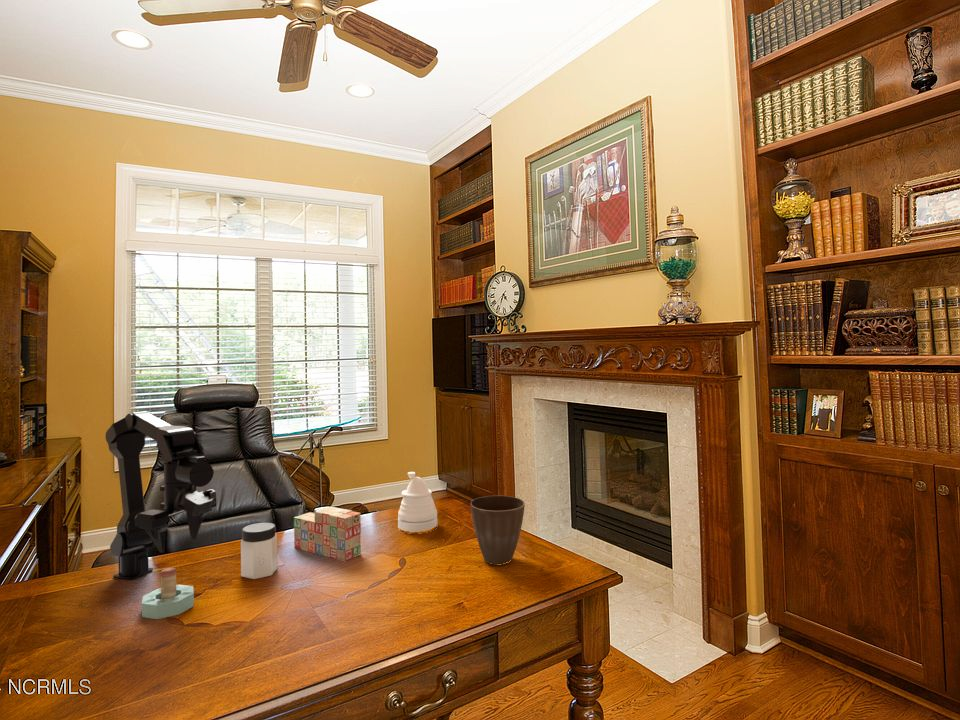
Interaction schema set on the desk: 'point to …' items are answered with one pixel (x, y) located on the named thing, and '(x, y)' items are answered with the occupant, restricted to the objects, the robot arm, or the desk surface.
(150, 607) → the bead
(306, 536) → the stack of blocks
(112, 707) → the desk surface
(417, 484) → the honey pot
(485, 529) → the plant pot
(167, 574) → the beige cylindrical peg
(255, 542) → the jar
